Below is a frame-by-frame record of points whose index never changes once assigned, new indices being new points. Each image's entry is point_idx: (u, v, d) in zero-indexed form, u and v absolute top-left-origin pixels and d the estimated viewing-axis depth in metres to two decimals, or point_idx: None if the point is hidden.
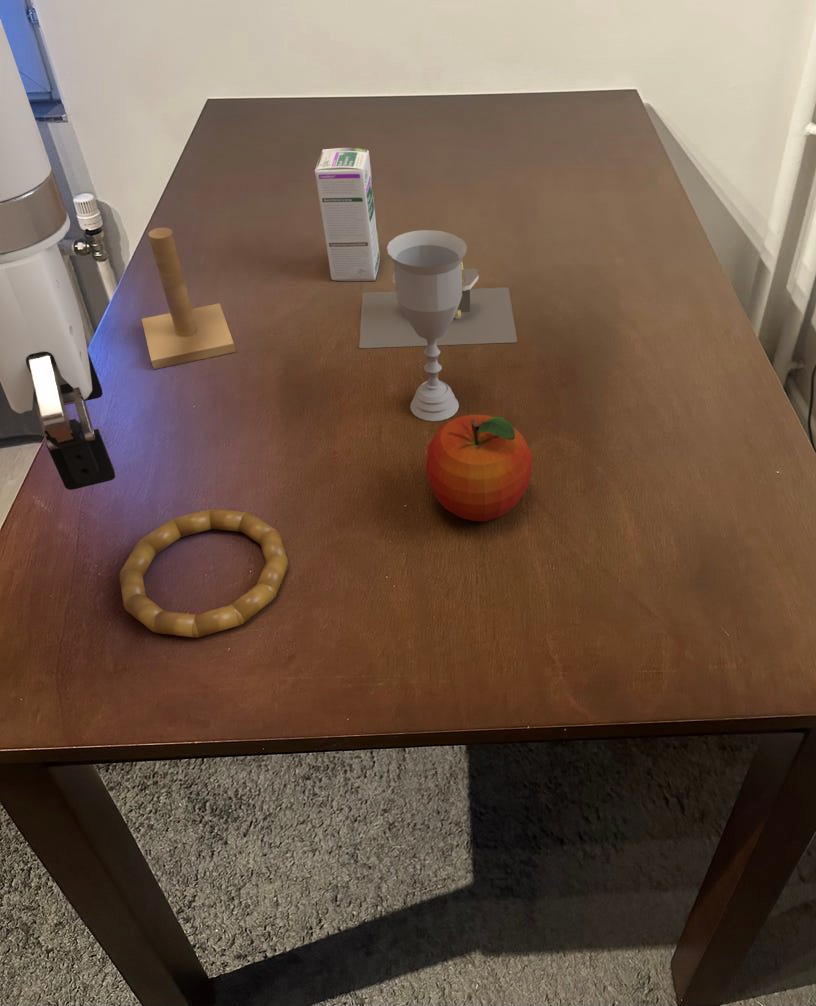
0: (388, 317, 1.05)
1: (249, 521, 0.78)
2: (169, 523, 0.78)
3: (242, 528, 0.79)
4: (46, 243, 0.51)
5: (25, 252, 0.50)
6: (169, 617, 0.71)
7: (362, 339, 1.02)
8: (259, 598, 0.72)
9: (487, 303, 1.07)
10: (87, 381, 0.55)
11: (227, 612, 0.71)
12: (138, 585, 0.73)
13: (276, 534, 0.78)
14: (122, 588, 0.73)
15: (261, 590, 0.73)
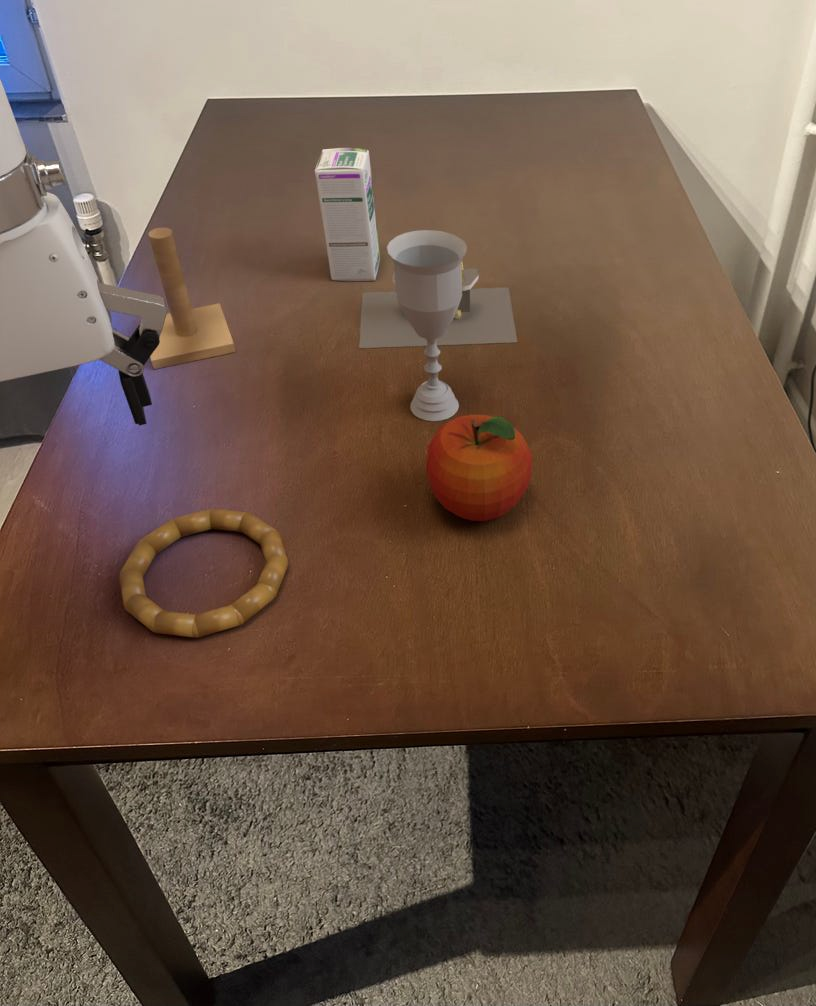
0: (388, 317, 1.05)
1: (249, 521, 0.78)
2: (169, 523, 0.78)
3: (242, 528, 0.79)
4: None
5: None
6: (169, 617, 0.71)
7: (362, 339, 1.02)
8: (259, 598, 0.72)
9: (487, 303, 1.07)
10: None
11: (227, 612, 0.71)
12: (138, 585, 0.73)
13: (276, 534, 0.78)
14: (122, 588, 0.73)
15: (261, 590, 0.73)
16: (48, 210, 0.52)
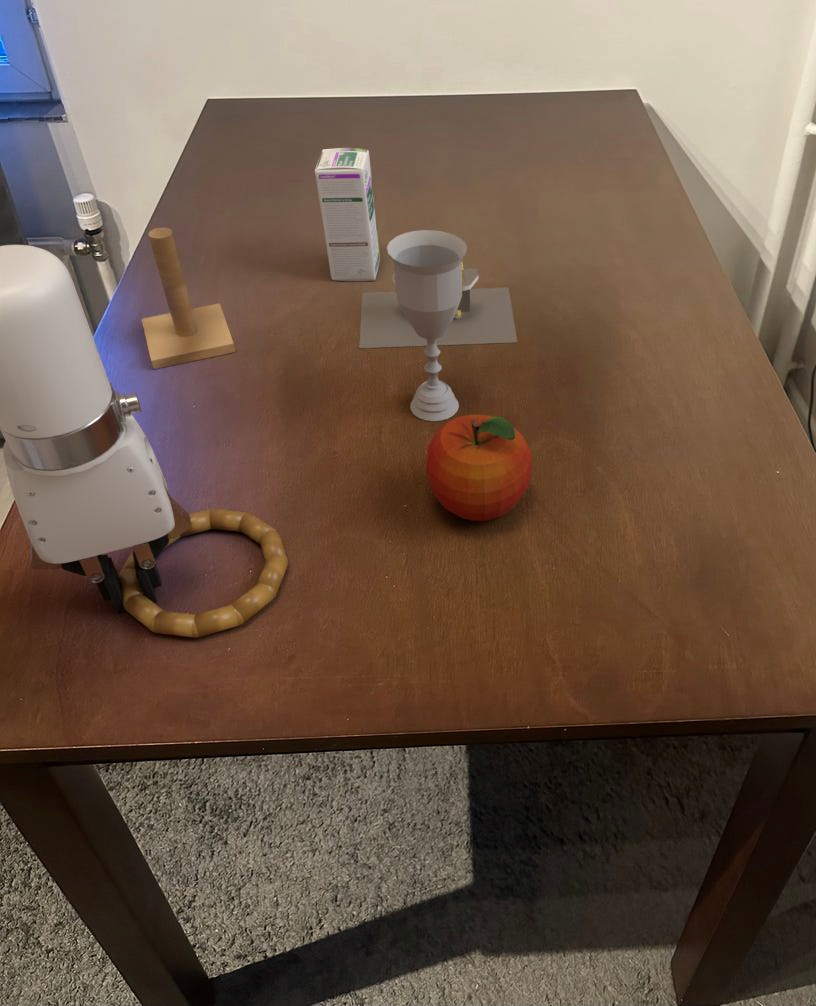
0: (388, 317, 1.05)
1: (249, 521, 0.78)
2: None
3: (241, 528, 0.79)
4: (26, 468, 0.60)
5: (16, 460, 0.61)
6: (169, 617, 0.71)
7: (362, 339, 1.02)
8: (259, 598, 0.72)
9: (487, 303, 1.07)
10: (43, 555, 0.66)
11: (227, 612, 0.71)
12: (138, 585, 0.73)
13: (276, 534, 0.78)
14: (122, 588, 0.73)
15: (261, 590, 0.73)
16: (126, 430, 0.64)
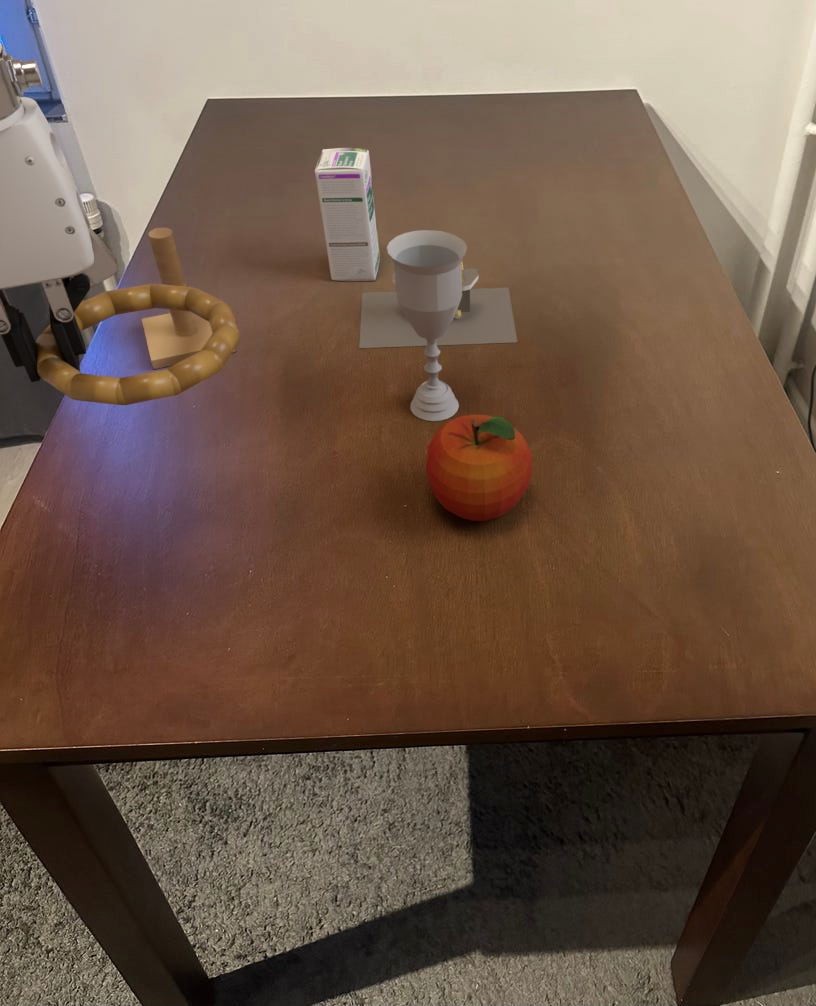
0: (388, 317, 1.05)
1: (196, 294, 0.66)
2: (101, 294, 0.66)
3: (187, 303, 0.66)
4: None
5: None
6: (89, 378, 0.58)
7: (362, 339, 1.02)
8: (200, 364, 0.60)
9: (487, 303, 1.07)
10: None
11: (160, 375, 0.59)
12: (56, 350, 0.61)
13: (228, 307, 0.65)
14: (37, 353, 0.61)
15: (203, 356, 0.60)
16: (25, 112, 0.51)
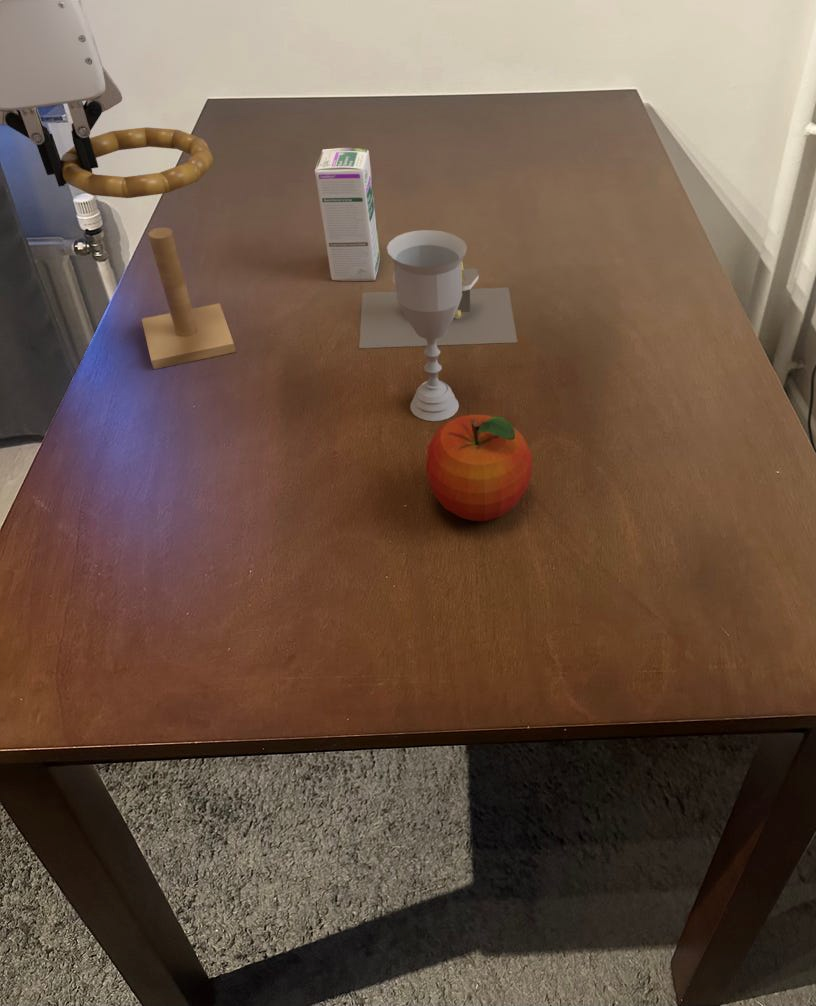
0: (388, 317, 1.05)
1: (180, 133, 0.88)
2: (108, 132, 0.88)
3: (174, 140, 0.88)
4: None
5: None
6: (102, 176, 0.80)
7: (362, 339, 1.02)
8: (184, 171, 0.82)
9: (487, 303, 1.07)
10: None
11: (154, 175, 0.80)
12: (77, 162, 0.83)
13: (204, 141, 0.87)
14: (62, 164, 0.83)
15: (186, 166, 0.82)
16: None
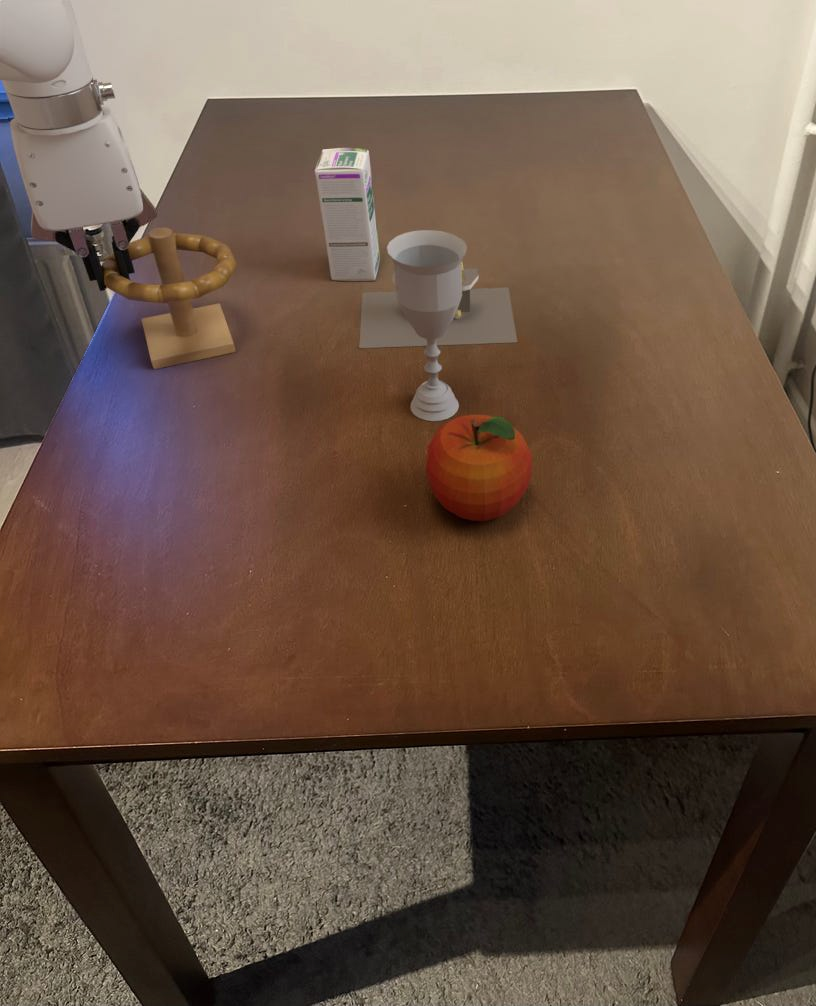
0: (388, 317, 1.05)
1: (207, 239, 0.99)
2: (142, 238, 0.98)
3: (201, 245, 0.99)
4: (28, 130, 0.80)
5: (20, 126, 0.81)
6: (140, 284, 0.90)
7: (362, 339, 1.02)
8: (212, 279, 0.92)
9: (487, 303, 1.07)
10: (41, 219, 0.86)
11: (186, 284, 0.91)
12: (116, 269, 0.93)
13: (228, 248, 0.98)
14: (103, 271, 0.93)
15: (213, 274, 0.93)
16: (104, 114, 0.83)
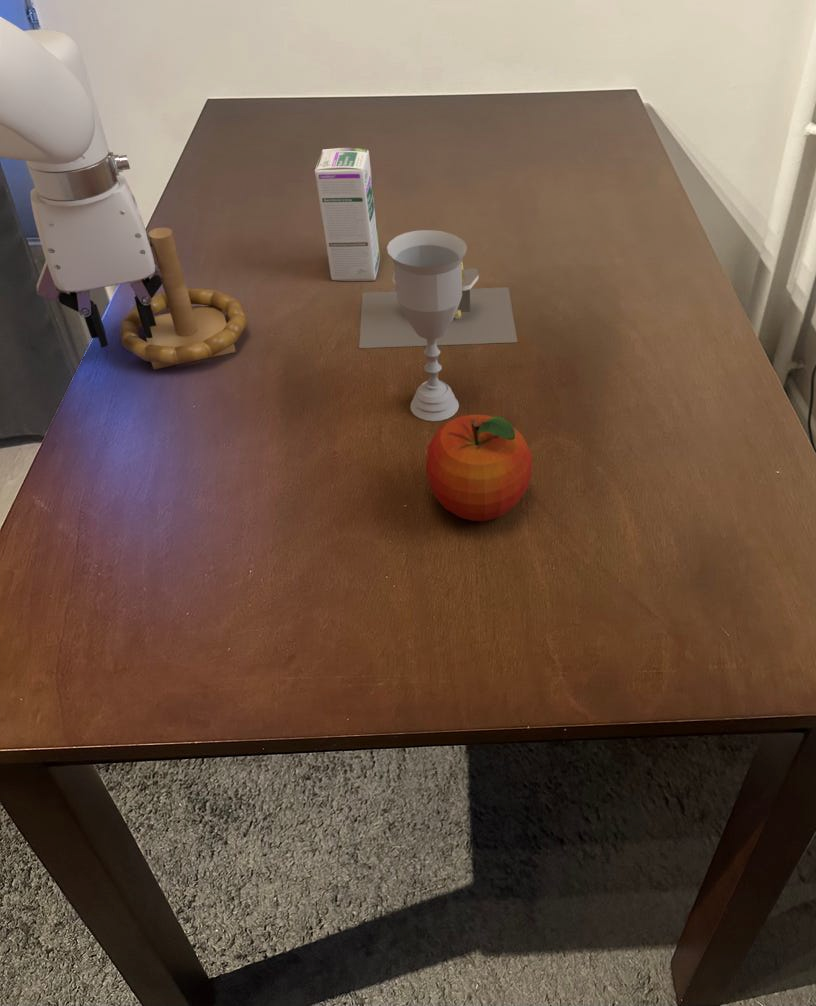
0: (388, 317, 1.05)
1: (218, 294, 1.03)
2: (157, 295, 1.03)
3: (213, 300, 1.03)
4: (47, 201, 0.84)
5: (40, 197, 0.85)
6: (156, 347, 0.95)
7: (362, 339, 1.02)
8: (223, 338, 0.97)
9: (487, 303, 1.07)
10: (58, 282, 0.90)
11: (199, 345, 0.96)
12: (133, 330, 0.98)
13: (239, 303, 1.02)
14: (121, 333, 0.98)
15: (225, 333, 0.98)
16: (119, 184, 0.88)
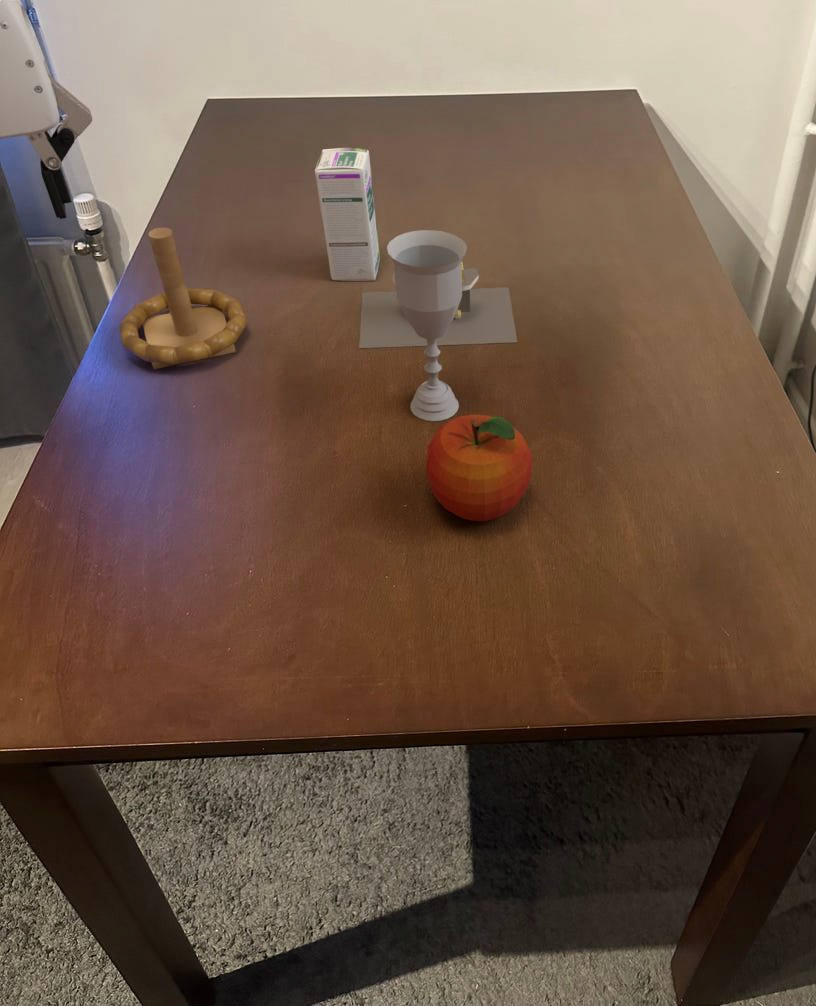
0: (388, 317, 1.05)
1: (218, 294, 1.03)
2: (157, 295, 1.03)
3: (213, 300, 1.03)
4: None
5: None
6: (156, 347, 0.95)
7: (362, 339, 1.02)
8: (223, 338, 0.97)
9: (487, 303, 1.07)
10: None
11: (199, 345, 0.96)
12: (133, 330, 0.98)
13: (239, 303, 1.02)
14: (121, 333, 0.98)
15: (225, 333, 0.98)
16: None
